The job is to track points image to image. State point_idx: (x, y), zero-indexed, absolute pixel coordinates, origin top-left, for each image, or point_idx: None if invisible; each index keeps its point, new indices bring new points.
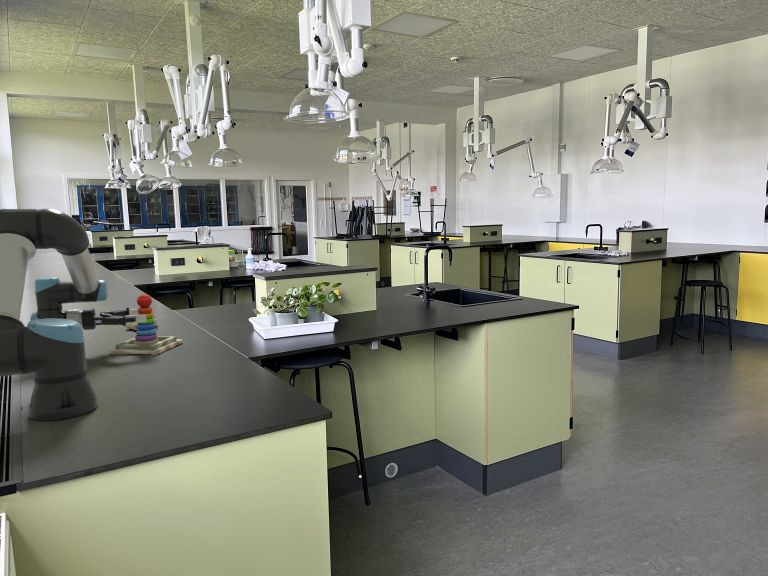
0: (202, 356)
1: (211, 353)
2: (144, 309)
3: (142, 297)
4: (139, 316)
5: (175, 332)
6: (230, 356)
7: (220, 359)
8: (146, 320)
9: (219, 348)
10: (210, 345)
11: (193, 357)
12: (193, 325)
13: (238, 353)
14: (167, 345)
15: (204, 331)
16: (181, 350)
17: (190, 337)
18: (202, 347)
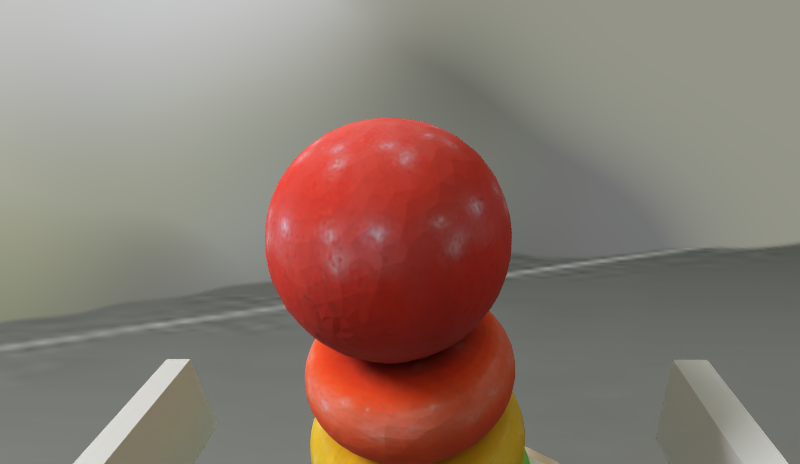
0: (740, 335)
1: (672, 310)
2: (505, 342)
3: (481, 165)
4: (760, 457)
5: (73, 426)
6: (727, 269)
7: (790, 290)
8: (660, 427)
9: (576, 290)
10: (506, 311)
11: (771, 365)
12: (23, 352)
13: (674, 255)
14: (542, 461)
15: (205, 322)
16: (586, 409)
17: (279, 367)
18: (538, 333)
